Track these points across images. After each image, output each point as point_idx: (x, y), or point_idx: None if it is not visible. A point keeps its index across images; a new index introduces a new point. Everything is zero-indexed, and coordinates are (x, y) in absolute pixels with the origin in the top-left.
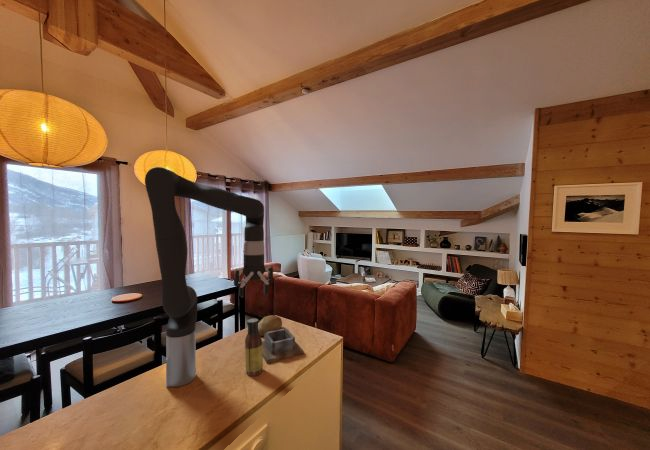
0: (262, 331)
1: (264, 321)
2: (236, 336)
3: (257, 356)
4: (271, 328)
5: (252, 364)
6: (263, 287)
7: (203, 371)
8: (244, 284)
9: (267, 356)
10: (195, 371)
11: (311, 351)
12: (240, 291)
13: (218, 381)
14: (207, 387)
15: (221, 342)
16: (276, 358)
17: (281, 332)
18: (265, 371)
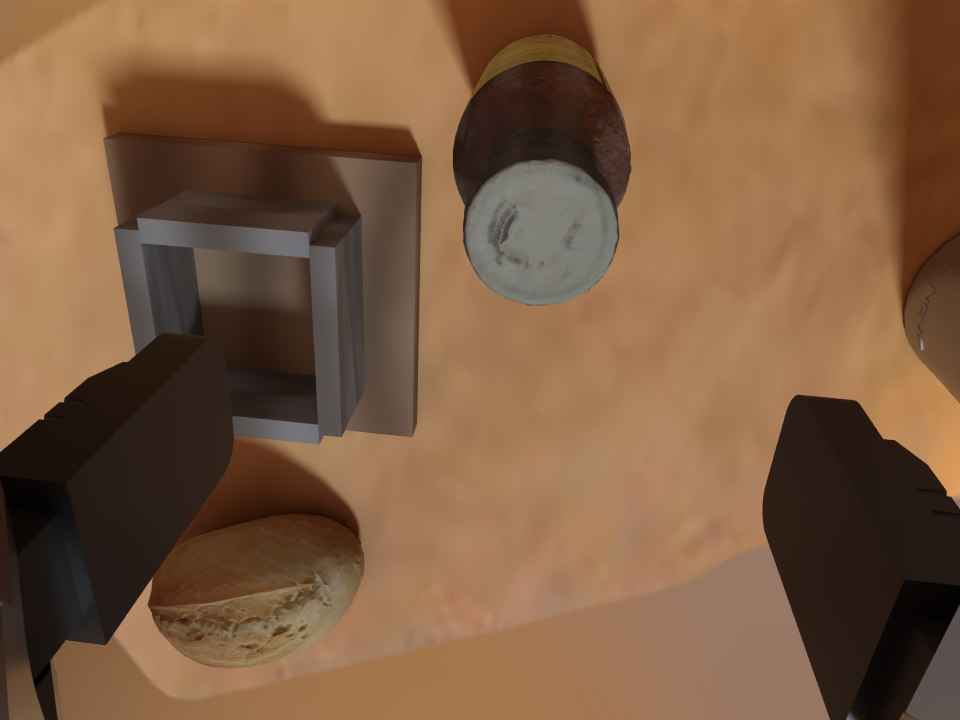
0: (329, 540)
1: (286, 609)
2: (500, 607)
3: (534, 48)
4: (256, 531)
5: (579, 51)
6: (159, 556)
7: (844, 311)
8: (950, 684)
9: (397, 211)
10: (934, 286)
11: (47, 129)
12: (954, 534)
13: (808, 128)
14: (900, 97)
15: (613, 587)
16: (340, 155)
17: None
18: (466, 58)
